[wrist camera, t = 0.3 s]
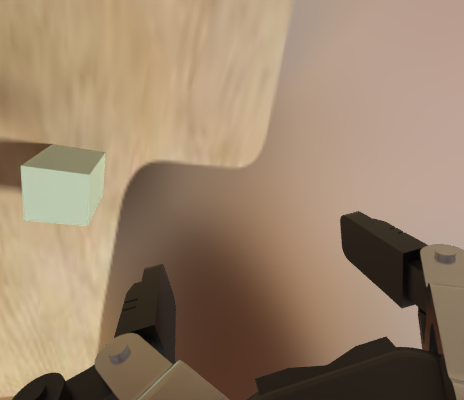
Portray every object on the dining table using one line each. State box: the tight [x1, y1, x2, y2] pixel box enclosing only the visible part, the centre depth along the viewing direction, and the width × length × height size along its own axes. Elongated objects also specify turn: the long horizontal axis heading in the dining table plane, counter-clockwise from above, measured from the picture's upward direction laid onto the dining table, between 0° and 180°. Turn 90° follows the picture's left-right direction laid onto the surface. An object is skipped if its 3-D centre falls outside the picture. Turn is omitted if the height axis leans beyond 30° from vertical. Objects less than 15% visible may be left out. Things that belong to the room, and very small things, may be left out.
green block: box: [21, 144, 105, 226], centre depth 27 cm, size 5×5×7 cm
